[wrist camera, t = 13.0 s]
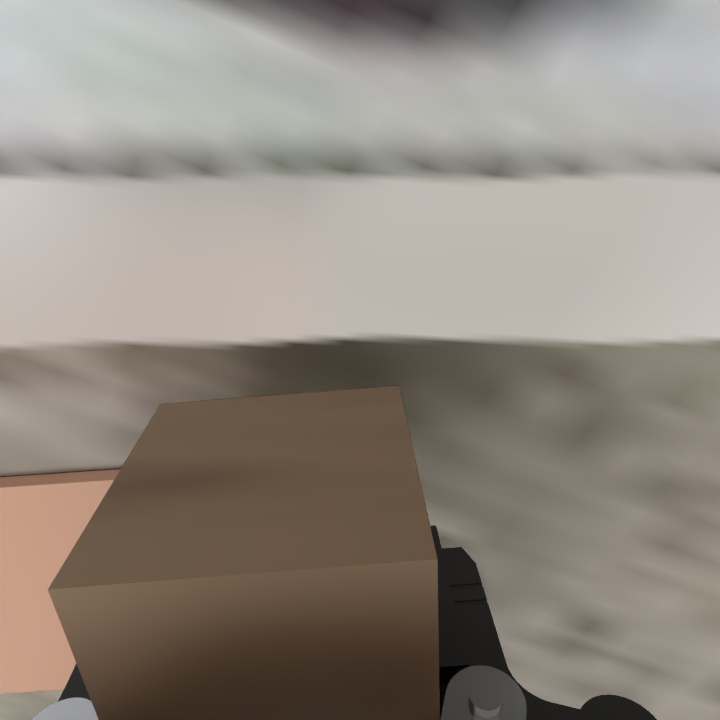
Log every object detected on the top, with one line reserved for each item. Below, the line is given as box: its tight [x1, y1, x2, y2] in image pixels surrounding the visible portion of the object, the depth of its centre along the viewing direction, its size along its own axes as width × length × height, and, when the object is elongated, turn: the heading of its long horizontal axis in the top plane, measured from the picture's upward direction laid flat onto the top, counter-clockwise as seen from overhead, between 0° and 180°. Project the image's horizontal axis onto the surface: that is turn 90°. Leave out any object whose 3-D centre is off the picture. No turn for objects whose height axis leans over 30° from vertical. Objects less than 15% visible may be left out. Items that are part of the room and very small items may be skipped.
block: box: [48, 386, 440, 720], centre depth 11 cm, size 6×5×5 cm
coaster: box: [0, 469, 121, 694], centre depth 21 cm, size 10×10×1 cm
